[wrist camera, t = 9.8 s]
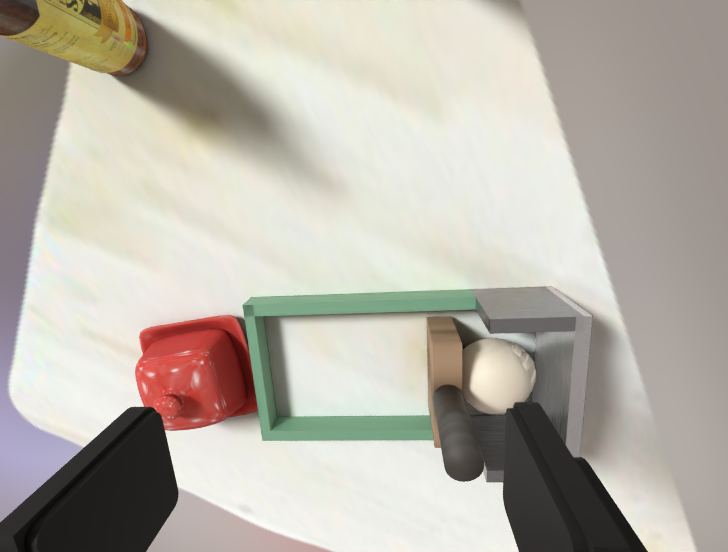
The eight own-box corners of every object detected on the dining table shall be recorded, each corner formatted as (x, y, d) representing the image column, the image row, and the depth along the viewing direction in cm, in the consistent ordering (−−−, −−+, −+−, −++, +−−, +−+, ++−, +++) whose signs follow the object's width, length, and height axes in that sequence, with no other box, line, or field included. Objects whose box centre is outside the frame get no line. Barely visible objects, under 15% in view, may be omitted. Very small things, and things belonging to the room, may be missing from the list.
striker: (425, 317, 39) (443, 398, 25) (452, 316, 38) (485, 398, 24) (427, 406, 41) (445, 525, 27) (452, 406, 41) (483, 526, 27)
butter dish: (242, 308, 40) (204, 342, 32) (270, 405, 43) (241, 459, 35) (142, 325, 42) (80, 362, 34) (174, 417, 45) (125, 472, 36)
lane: (251, 297, 40) (242, 305, 37) (470, 289, 38) (475, 296, 36) (269, 426, 44) (262, 440, 41) (469, 425, 42) (473, 439, 39)
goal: (470, 289, 38) (490, 319, 30) (551, 286, 37) (592, 316, 30) (469, 425, 42) (486, 482, 34) (542, 424, 41) (577, 482, 33)
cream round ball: (532, 374, 40) (559, 413, 33) (463, 396, 41) (476, 438, 35) (511, 316, 38) (535, 345, 32) (441, 341, 40) (450, 374, 33)
